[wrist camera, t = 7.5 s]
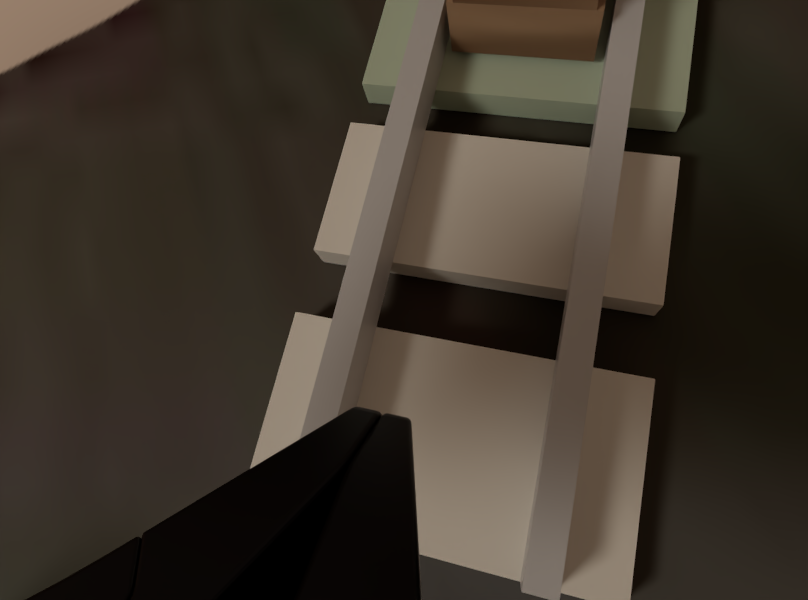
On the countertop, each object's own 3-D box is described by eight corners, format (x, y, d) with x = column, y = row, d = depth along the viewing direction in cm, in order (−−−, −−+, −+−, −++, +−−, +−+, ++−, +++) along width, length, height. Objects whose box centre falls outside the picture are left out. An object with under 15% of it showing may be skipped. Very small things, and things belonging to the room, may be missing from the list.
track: (620, 603, 14) (654, 637, 11) (254, 503, 17) (192, 507, 13) (695, -34, 20) (733, -139, 16) (410, -44, 22) (393, -138, 19)
